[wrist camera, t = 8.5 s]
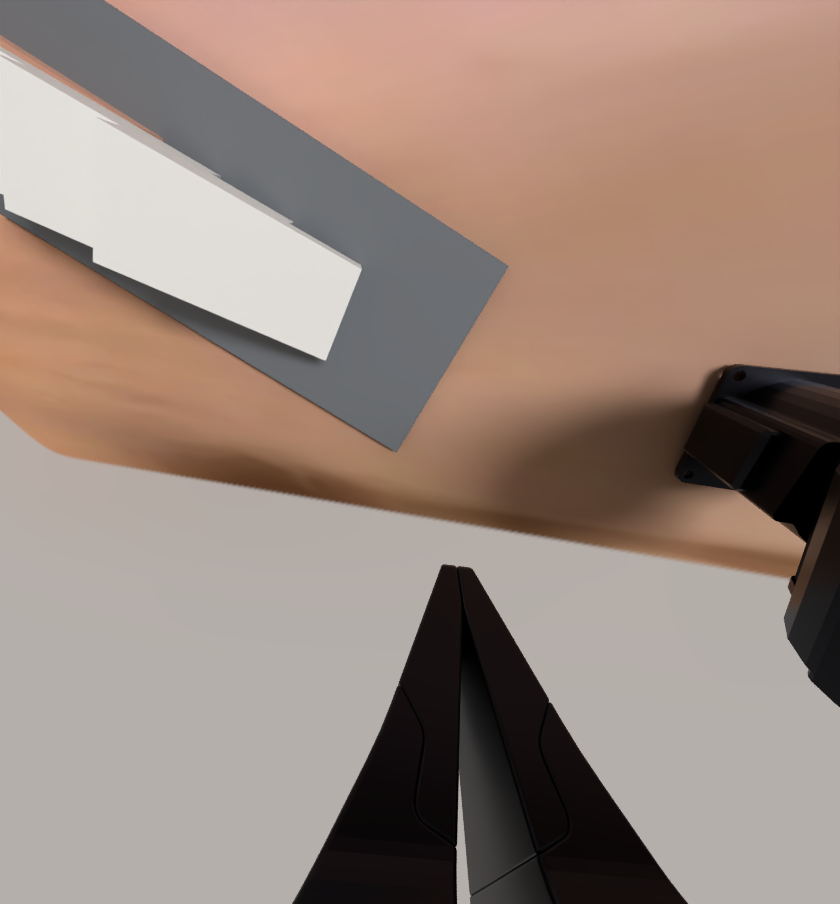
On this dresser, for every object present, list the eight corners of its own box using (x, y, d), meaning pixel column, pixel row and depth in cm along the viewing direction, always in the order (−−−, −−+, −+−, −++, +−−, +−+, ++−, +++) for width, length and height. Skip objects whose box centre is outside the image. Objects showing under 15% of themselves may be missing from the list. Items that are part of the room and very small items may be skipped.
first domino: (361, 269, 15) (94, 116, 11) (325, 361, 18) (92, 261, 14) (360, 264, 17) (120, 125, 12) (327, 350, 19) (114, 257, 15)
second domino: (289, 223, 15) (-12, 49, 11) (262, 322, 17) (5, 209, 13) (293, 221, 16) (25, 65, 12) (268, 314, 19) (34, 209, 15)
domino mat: (508, 267, 16) (508, 266, 15) (398, 448, 21) (396, 452, 21) (-19, -79, 14) (-38, -93, 14) (10, 214, 20) (-3, 211, 19)
